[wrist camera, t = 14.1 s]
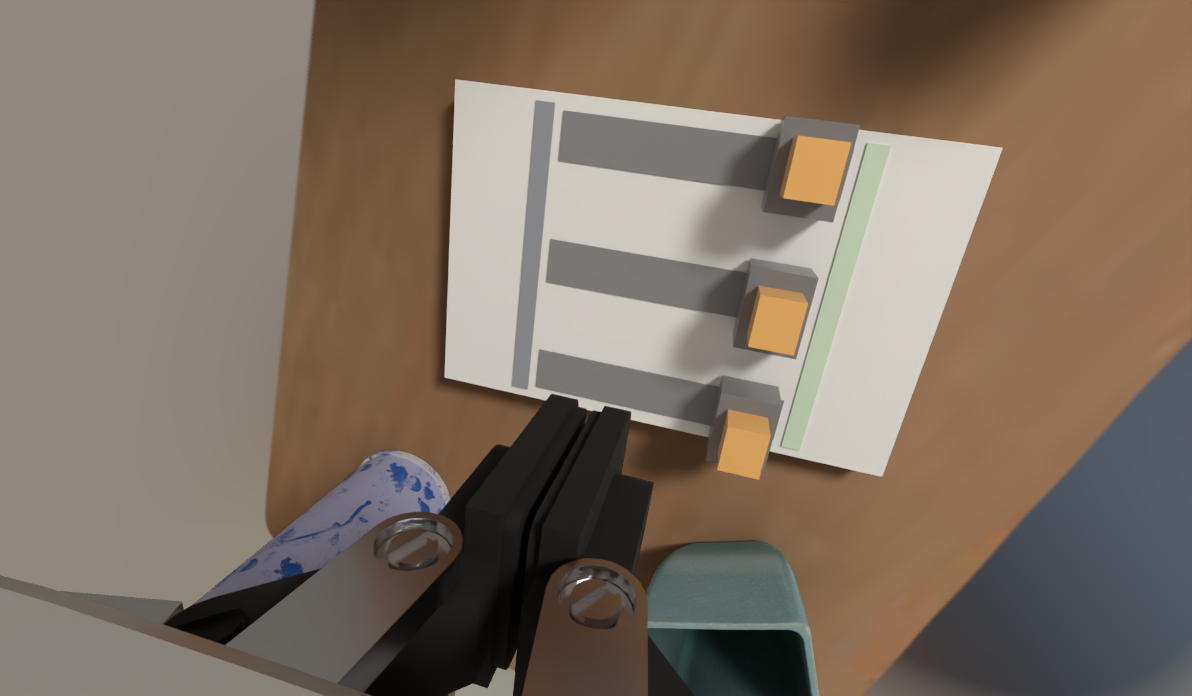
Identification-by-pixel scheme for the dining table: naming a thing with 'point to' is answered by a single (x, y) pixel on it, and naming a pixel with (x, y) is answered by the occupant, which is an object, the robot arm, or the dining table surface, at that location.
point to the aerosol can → (342, 519)
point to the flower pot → (732, 621)
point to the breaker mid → (774, 308)
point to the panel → (694, 264)
